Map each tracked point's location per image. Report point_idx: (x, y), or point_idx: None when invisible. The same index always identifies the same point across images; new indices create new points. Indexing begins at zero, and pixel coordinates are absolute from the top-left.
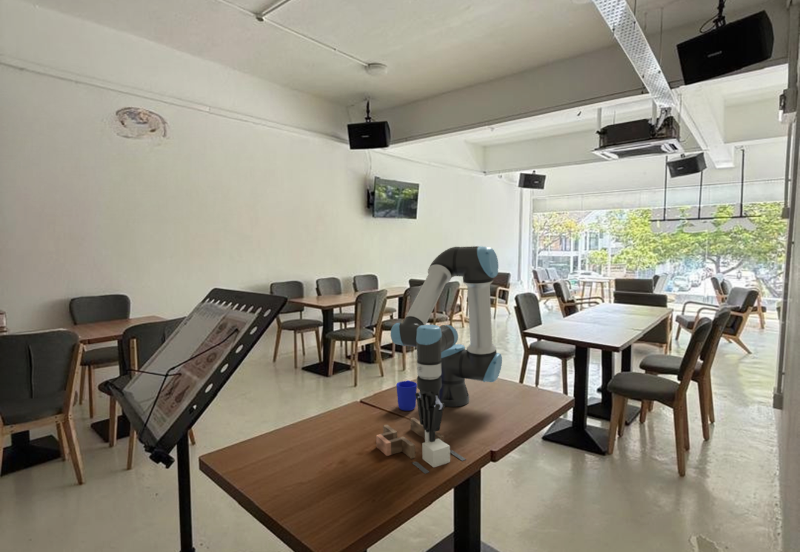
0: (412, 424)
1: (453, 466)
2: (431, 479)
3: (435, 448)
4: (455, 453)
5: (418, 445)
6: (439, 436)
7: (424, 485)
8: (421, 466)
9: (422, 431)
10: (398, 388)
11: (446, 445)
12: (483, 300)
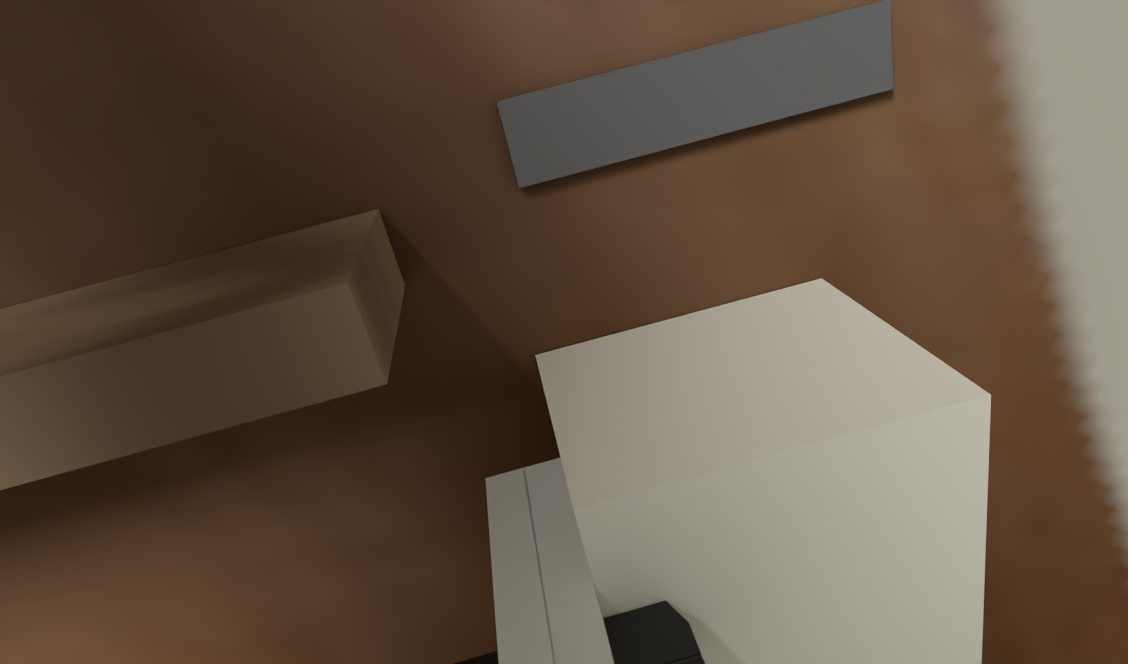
0: None
1: (940, 275)
2: (1026, 580)
3: (927, 647)
4: (641, 96)
5: (181, 550)
6: (328, 383)
7: (1070, 652)
8: None
9: None
10: None
11: (936, 451)
12: None
